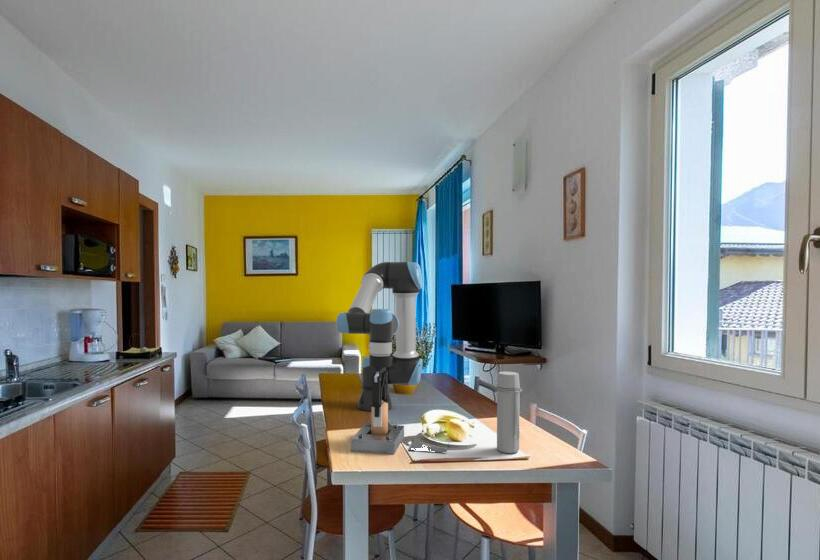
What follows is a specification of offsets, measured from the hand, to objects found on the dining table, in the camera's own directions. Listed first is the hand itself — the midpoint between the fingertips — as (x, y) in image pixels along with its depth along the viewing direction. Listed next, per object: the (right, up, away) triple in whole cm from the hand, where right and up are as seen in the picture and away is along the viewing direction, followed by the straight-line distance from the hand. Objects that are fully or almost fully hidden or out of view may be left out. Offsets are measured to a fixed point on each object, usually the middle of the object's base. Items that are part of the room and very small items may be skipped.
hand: (379, 423), depth 155 cm
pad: (+17, -7, -2) cm, 18 cm away
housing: (0, -7, -1) cm, 7 cm away
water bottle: (+42, -7, -7) cm, 44 cm away
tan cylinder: (0, -5, 0) cm, 5 cm away
